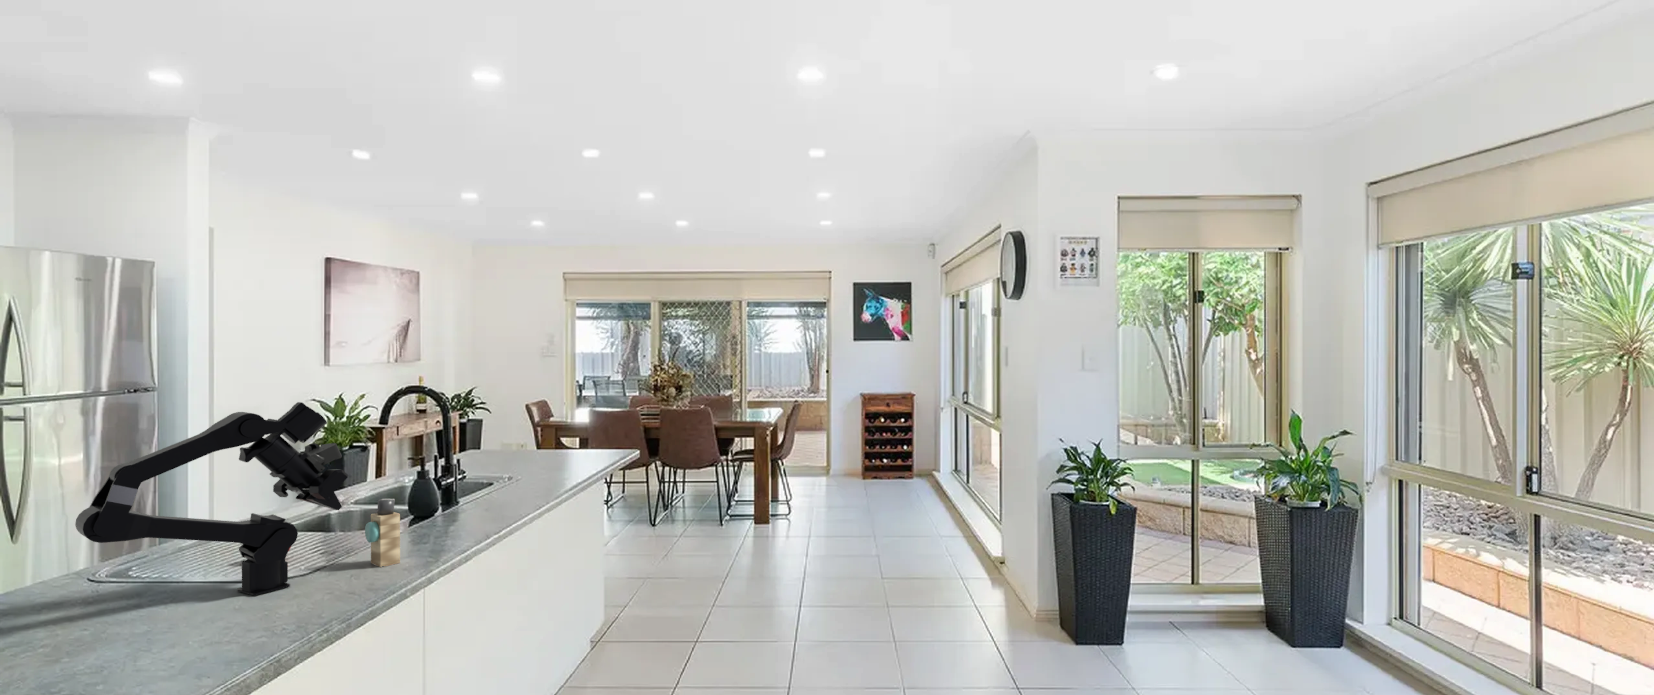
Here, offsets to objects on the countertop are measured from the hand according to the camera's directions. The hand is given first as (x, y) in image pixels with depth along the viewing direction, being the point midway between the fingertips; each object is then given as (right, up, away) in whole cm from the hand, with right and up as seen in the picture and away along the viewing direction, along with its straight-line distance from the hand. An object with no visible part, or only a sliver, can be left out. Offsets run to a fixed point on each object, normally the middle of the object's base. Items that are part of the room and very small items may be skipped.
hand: (339, 508), depth 159 cm
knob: (+6, -8, +6) cm, 12 cm away
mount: (+6, -14, +7) cm, 16 cm away
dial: (+6, -3, +7) cm, 9 cm away
